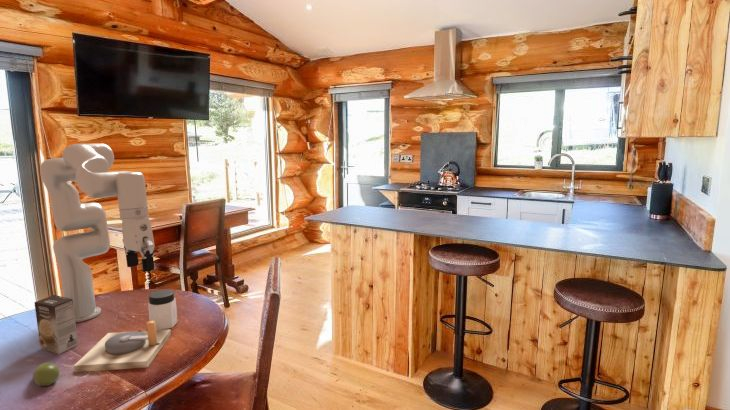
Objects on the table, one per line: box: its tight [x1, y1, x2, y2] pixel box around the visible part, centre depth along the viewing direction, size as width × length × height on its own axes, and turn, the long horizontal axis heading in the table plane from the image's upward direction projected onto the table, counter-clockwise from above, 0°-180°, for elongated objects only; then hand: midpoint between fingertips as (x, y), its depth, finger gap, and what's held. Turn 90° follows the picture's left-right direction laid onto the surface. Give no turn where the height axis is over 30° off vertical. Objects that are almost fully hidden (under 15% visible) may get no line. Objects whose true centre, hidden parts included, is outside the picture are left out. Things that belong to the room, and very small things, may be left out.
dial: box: [105, 320, 157, 355], centre depth 127 cm, size 15×11×7 cm
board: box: [73, 328, 172, 373], centre depth 128 cm, size 20×20×2 cm
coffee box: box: [34, 294, 79, 355], centre depth 130 cm, size 9×6×16 cm
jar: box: [147, 289, 178, 330], centre depth 145 cm, size 9×8×12 cm
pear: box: [32, 362, 60, 387], centre depth 113 cm, size 6×5×10 cm
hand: (140, 268), depth 124 cm, fingers open, 9 cm apart
